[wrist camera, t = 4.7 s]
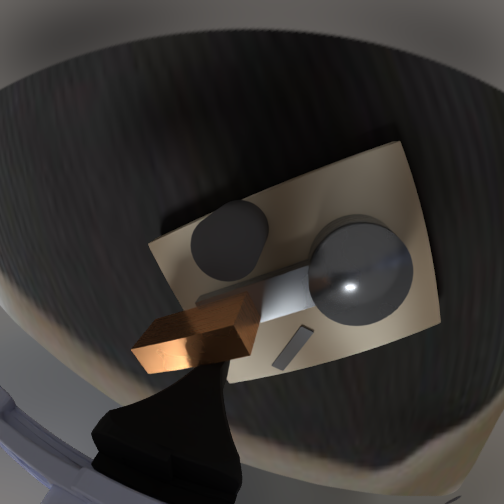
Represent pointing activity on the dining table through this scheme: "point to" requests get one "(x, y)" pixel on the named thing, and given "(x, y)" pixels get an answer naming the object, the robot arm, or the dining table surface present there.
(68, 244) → the dining table surface
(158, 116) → the dining table surface
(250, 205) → the post
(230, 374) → the board
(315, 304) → the crank
